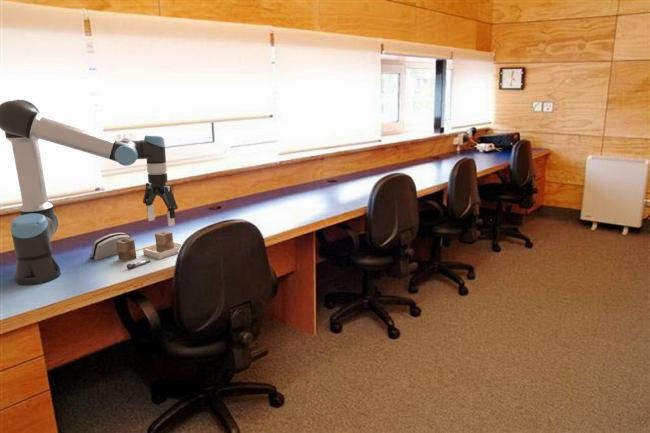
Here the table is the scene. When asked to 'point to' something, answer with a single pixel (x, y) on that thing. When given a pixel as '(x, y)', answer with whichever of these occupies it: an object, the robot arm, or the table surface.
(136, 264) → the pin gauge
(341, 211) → the table surface
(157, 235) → the block
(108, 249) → the napkin holder
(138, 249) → the pencil
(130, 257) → the block
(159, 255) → the tray
